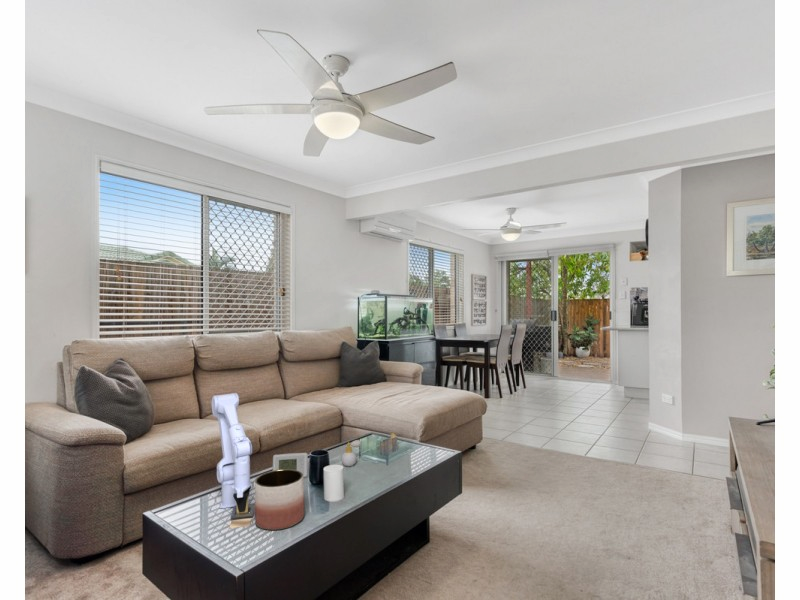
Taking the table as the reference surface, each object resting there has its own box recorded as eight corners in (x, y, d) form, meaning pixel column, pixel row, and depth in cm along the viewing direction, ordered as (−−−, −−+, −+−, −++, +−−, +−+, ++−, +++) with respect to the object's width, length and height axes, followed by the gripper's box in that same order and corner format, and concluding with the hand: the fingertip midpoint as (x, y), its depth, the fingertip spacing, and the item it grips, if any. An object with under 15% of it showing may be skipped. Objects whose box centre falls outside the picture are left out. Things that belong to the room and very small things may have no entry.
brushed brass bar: (238, 514, 169) (237, 495, 169) (249, 512, 170) (248, 494, 170) (236, 519, 165) (236, 500, 166) (247, 517, 166) (247, 499, 166)
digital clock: (270, 481, 202) (269, 457, 202) (277, 473, 211) (276, 451, 211) (305, 481, 201) (304, 457, 201) (310, 473, 210) (310, 451, 210)
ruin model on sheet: (393, 450, 243) (392, 432, 243) (397, 451, 241) (397, 433, 241) (379, 455, 234) (379, 437, 234) (383, 456, 232) (383, 438, 232)
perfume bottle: (338, 465, 219) (337, 441, 219) (353, 460, 226) (352, 437, 226) (348, 469, 214) (347, 444, 214) (363, 464, 221) (362, 440, 221)
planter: (306, 527, 158) (305, 482, 158) (254, 535, 153) (253, 490, 153) (302, 506, 175) (302, 466, 175) (255, 513, 170) (255, 472, 170)
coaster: (231, 522, 163) (231, 520, 163) (251, 519, 165) (251, 517, 165) (229, 528, 158) (229, 526, 158) (249, 525, 160) (249, 524, 160)
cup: (336, 491, 188) (335, 463, 188) (347, 496, 182) (347, 467, 183) (320, 497, 182) (319, 468, 183) (331, 503, 177) (331, 473, 177)
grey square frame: (234, 510, 173) (234, 505, 173) (255, 507, 175) (255, 503, 175) (230, 521, 164) (230, 516, 164) (253, 518, 166) (253, 513, 166)
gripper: (233, 467, 174) (234, 502, 174) (227, 481, 160) (228, 519, 160) (252, 465, 176) (253, 500, 176) (248, 479, 162) (249, 516, 161)
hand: (242, 509), depth 168 cm, fingers closed on brushed brass bar, 4 cm apart
